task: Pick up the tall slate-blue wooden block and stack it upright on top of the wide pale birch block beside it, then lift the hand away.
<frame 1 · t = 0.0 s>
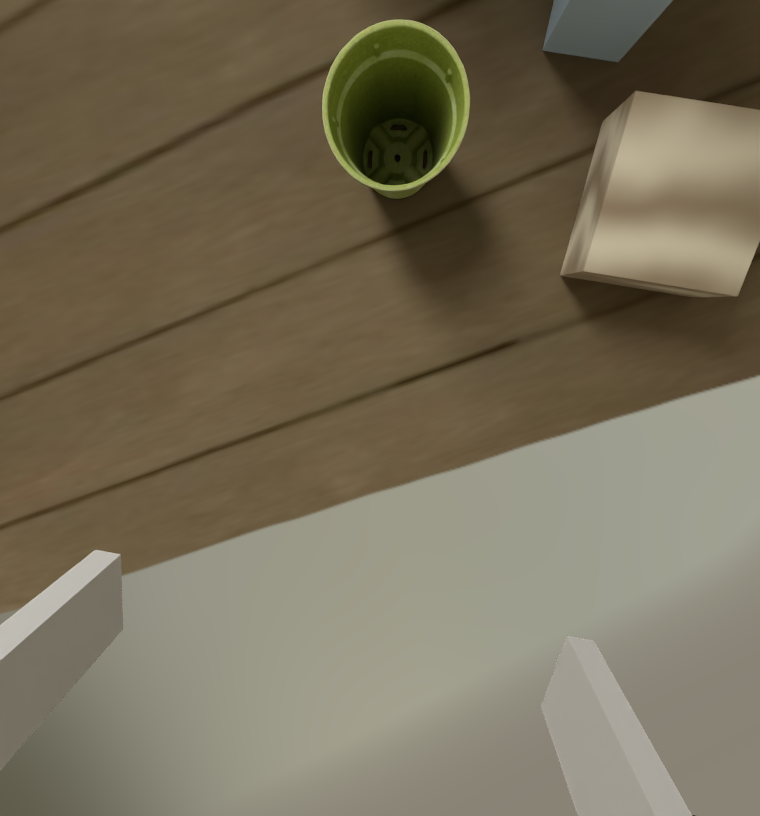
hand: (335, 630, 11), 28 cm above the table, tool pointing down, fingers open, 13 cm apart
birch block: (647, 214, 33), on the table
plant pot: (397, 160, 33), on the table
slate blue block: (591, 9, 29), on the table
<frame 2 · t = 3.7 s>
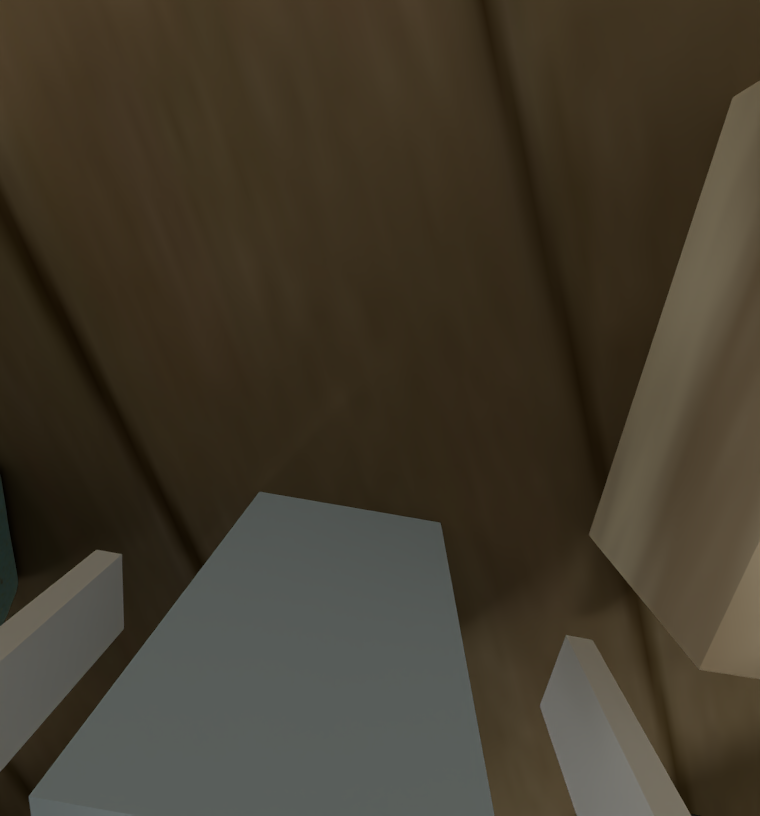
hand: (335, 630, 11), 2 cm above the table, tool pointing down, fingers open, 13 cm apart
slate blue block: (338, 582, 13), on the table
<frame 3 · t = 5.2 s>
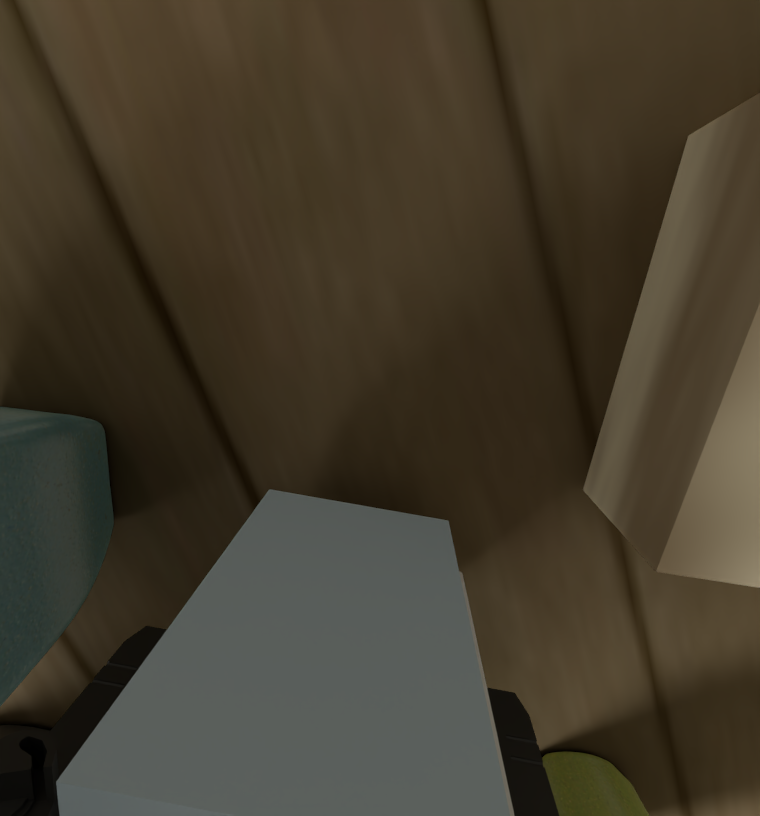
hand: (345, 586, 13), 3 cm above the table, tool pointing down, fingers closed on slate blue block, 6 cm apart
plant pot: (564, 785, 19), on the table
flower pot: (61, 463, 17), on the table
slate blue block: (346, 580, 13), point 3 cm above the table, touching gripper
when the fingers open (6 cm above the table, at t = 11.5 s): slate blue block stays where it is, resting on birch block.
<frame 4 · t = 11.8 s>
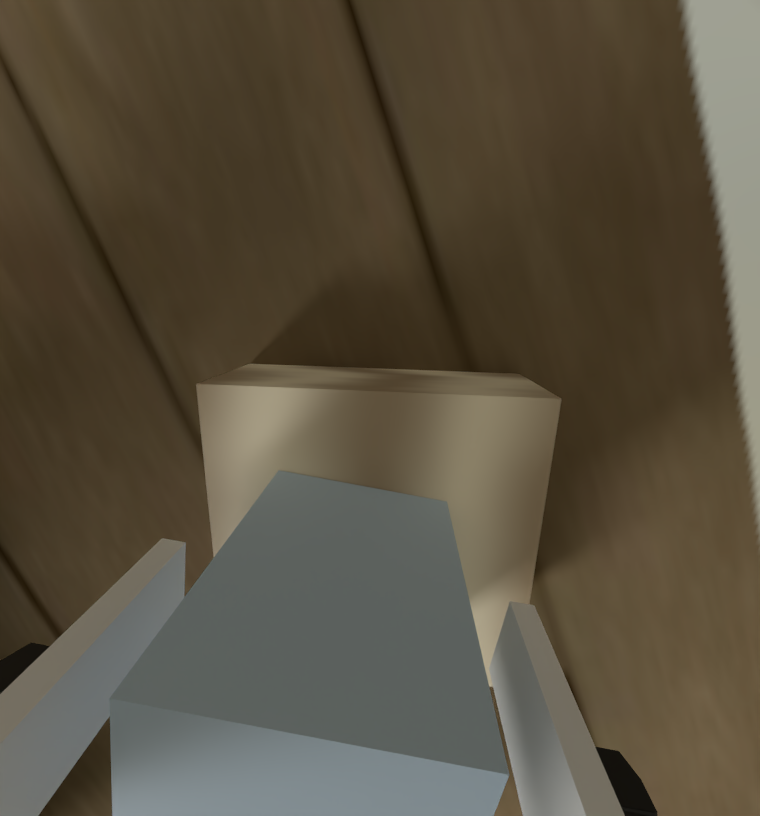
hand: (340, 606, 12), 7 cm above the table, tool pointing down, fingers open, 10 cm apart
birch block: (379, 487, 19), on the table, touching slate blue block
slate blue block: (349, 557, 14), point 5 cm above the table, touching birch block
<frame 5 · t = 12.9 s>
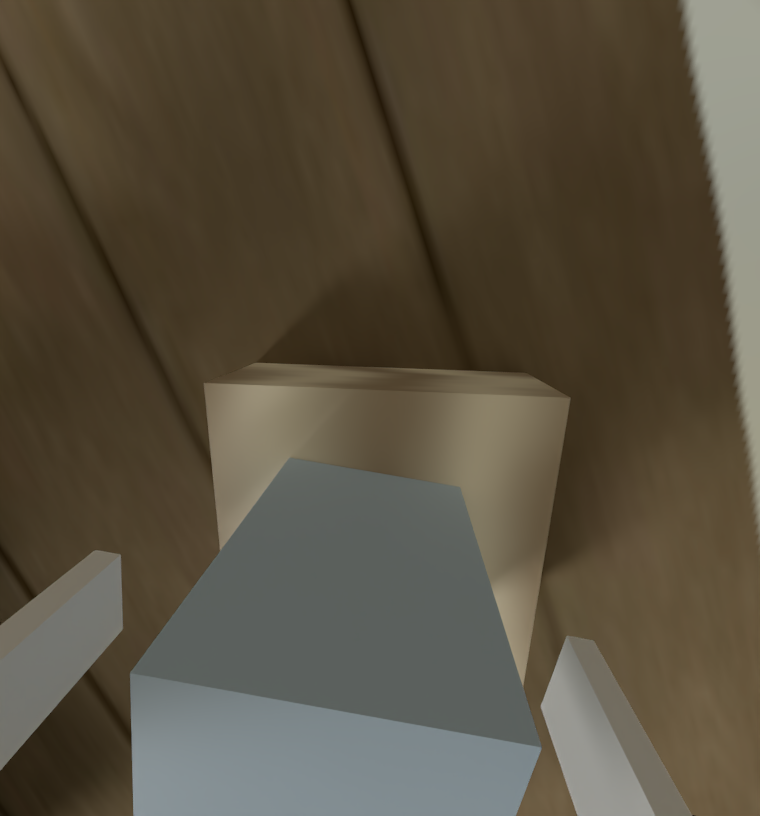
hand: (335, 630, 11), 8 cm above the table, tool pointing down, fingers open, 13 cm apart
birch block: (384, 486, 19), on the table
slate blue block: (361, 546, 14), point 5 cm above the table
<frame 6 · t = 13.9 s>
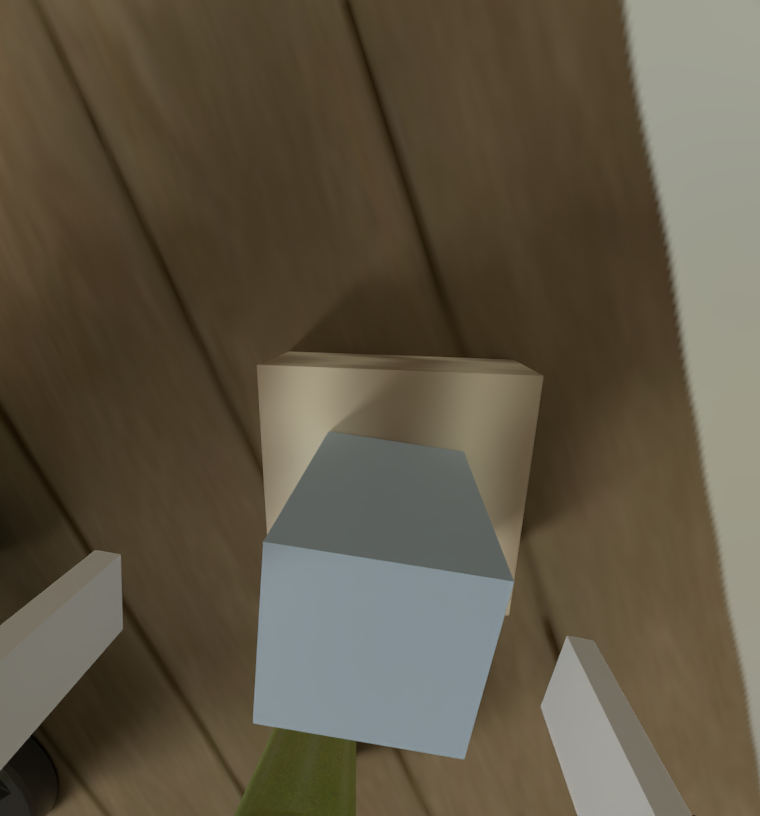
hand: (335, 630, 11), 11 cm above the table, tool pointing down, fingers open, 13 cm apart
birch block: (395, 456, 22), on the table
plant pot: (315, 730, 28), on the table
slate blue block: (386, 501, 17), point 5 cm above the table
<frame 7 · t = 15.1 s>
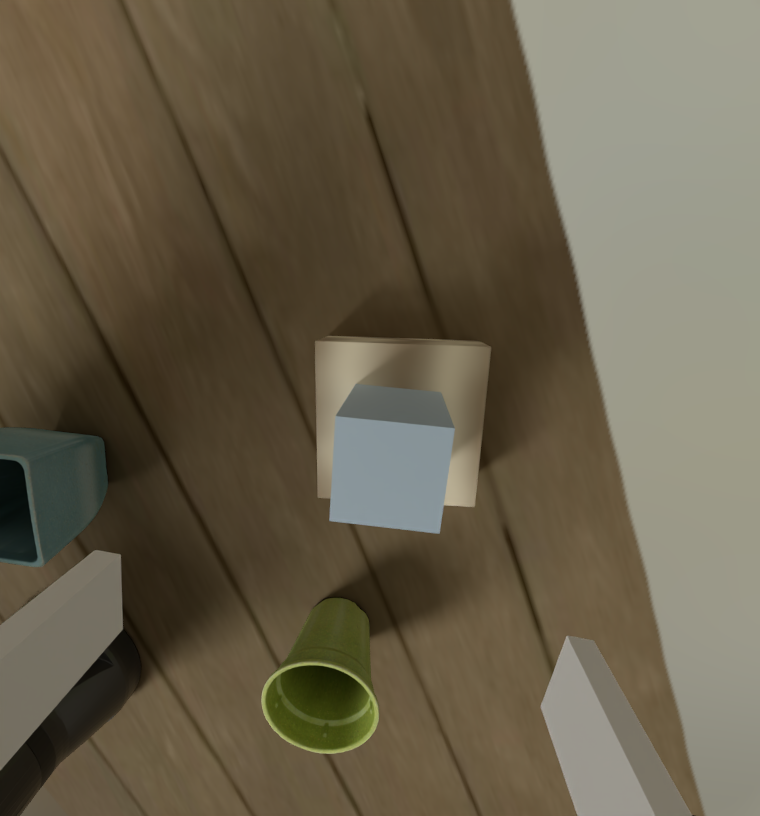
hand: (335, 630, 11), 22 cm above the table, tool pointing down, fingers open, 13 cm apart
birch block: (399, 409, 32), on the table, touching slate blue block
plant pot: (338, 619, 38), on the table
flower pot: (82, 457, 35), on the table
slate blue block: (394, 428, 27), point 5 cm above the table, touching birch block
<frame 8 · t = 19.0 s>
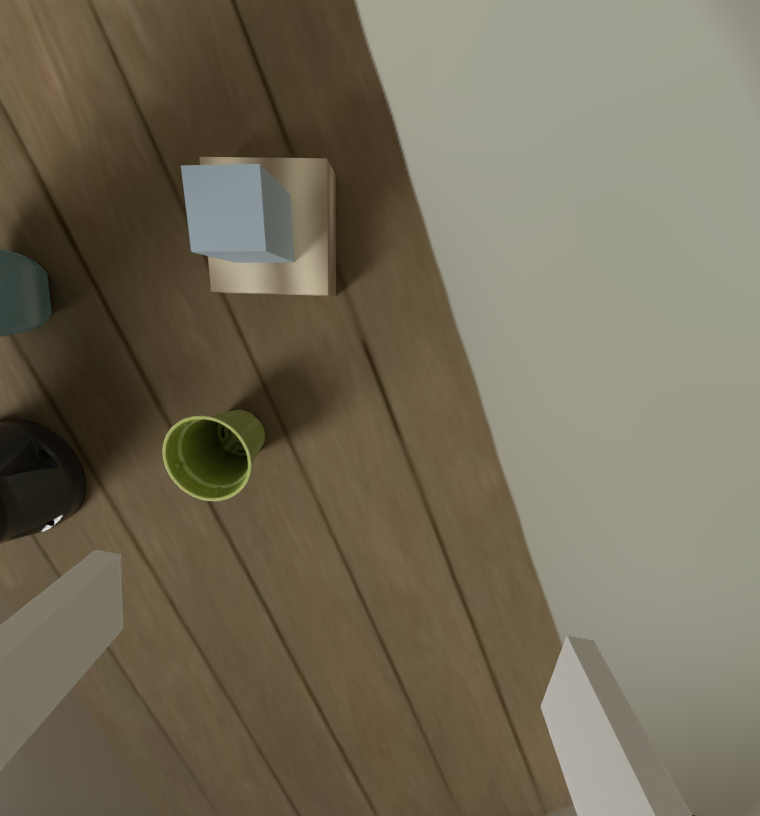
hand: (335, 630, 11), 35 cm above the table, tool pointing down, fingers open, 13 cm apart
birch block: (282, 237, 41), on the table, touching slate blue block
plant pot: (241, 432, 48), on the table
flower pot: (31, 290, 44), on the table
slate blue block: (261, 229, 37), point 5 cm above the table, touching birch block
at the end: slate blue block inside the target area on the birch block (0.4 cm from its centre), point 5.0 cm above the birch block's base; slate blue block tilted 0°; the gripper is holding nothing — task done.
